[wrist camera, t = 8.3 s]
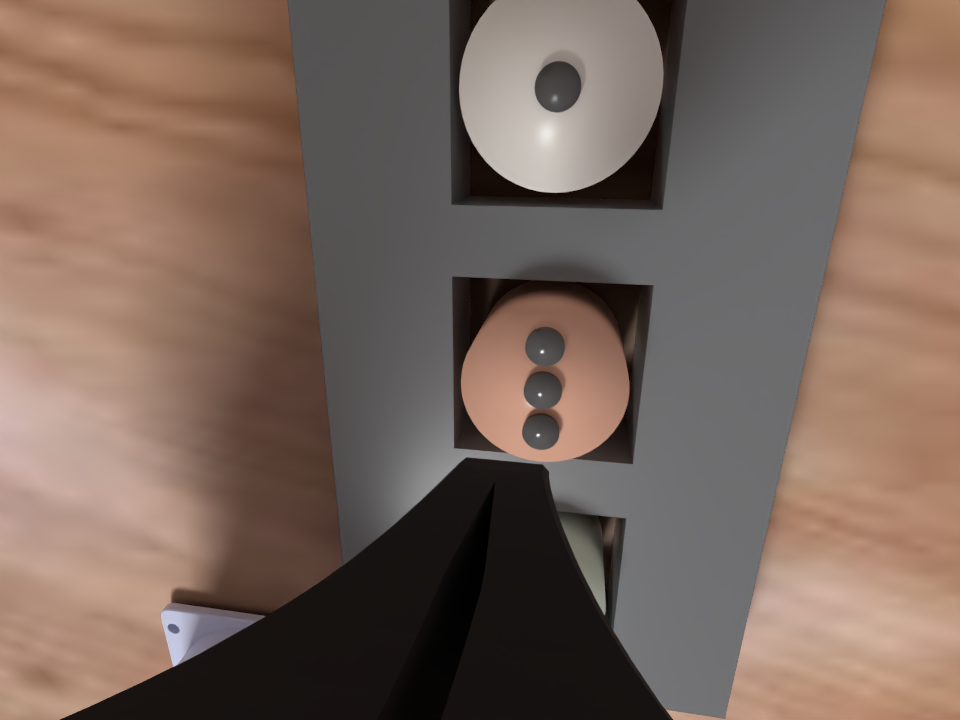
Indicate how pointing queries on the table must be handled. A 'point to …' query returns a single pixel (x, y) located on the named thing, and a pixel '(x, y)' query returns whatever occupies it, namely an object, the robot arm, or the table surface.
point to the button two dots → (587, 550)
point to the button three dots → (547, 372)
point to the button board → (598, 259)
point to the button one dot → (560, 89)
